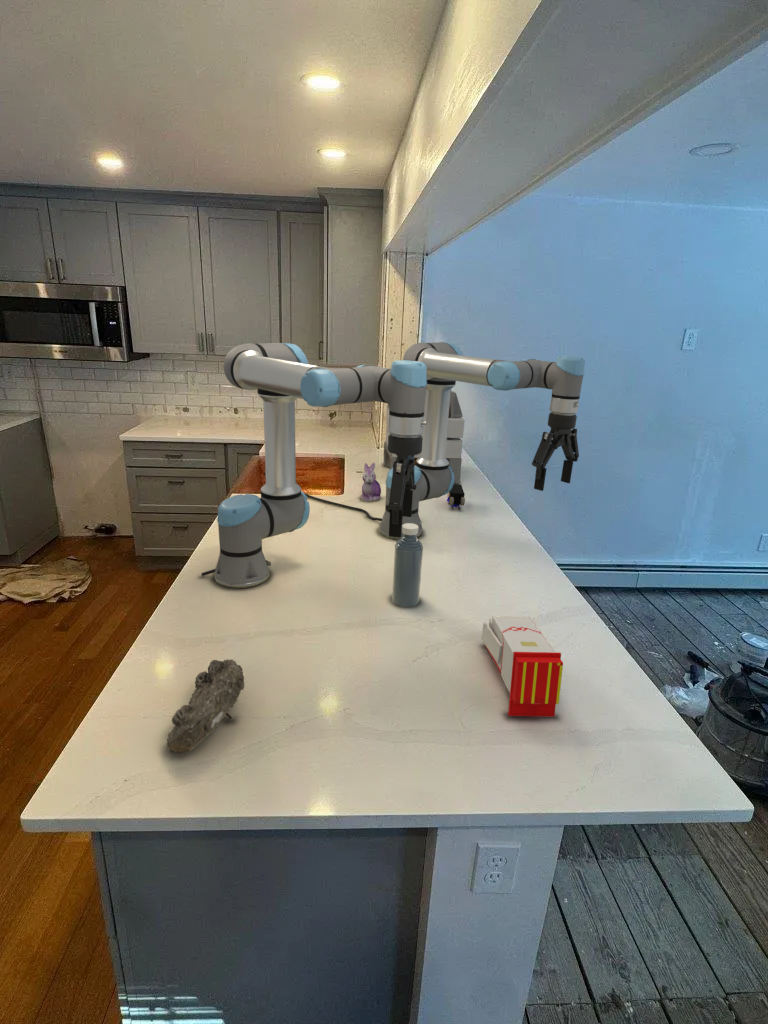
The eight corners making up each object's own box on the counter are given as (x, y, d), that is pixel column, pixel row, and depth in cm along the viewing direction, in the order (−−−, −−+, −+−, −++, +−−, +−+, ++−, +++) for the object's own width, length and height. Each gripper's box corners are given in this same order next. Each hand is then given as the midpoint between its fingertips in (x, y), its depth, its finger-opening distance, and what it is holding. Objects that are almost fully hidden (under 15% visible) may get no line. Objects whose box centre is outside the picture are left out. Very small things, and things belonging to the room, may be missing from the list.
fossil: (192, 660, 117) (244, 628, 112) (224, 691, 120) (276, 661, 115) (142, 746, 98) (202, 712, 93) (182, 779, 101) (242, 748, 96)
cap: (419, 530, 149) (419, 524, 149) (416, 536, 145) (416, 530, 145) (403, 528, 150) (404, 522, 150) (400, 534, 146) (400, 527, 146)
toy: (528, 601, 136) (572, 659, 107) (523, 653, 139) (565, 722, 110) (478, 600, 136) (508, 657, 107) (474, 652, 139) (503, 722, 109)
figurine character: (465, 514, 225) (460, 498, 239) (467, 497, 222) (461, 482, 235) (448, 514, 225) (444, 498, 239) (450, 496, 222) (445, 481, 235)
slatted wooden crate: (382, 463, 289) (386, 382, 275) (445, 464, 293) (451, 384, 279) (390, 482, 257) (394, 392, 243) (460, 483, 261) (468, 394, 247)
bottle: (421, 596, 157) (426, 524, 150) (416, 608, 150) (421, 534, 143) (395, 592, 159) (399, 521, 152) (389, 604, 152) (393, 530, 145)
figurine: (365, 503, 229) (367, 467, 224) (355, 495, 237) (356, 461, 232) (386, 500, 233) (388, 465, 228) (375, 493, 242) (376, 459, 237)
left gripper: (413, 448, 111) (407, 548, 118) (430, 425, 134) (424, 510, 141) (376, 445, 112) (372, 544, 119) (399, 423, 135) (394, 506, 142)
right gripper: (548, 419, 148) (537, 496, 155) (598, 411, 163) (586, 482, 171) (525, 414, 153) (515, 489, 160) (575, 407, 169) (564, 476, 176)
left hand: (400, 525), depth 130 cm, fingers open, 13 cm apart
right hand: (552, 485), depth 166 cm, fingers open, 13 cm apart
